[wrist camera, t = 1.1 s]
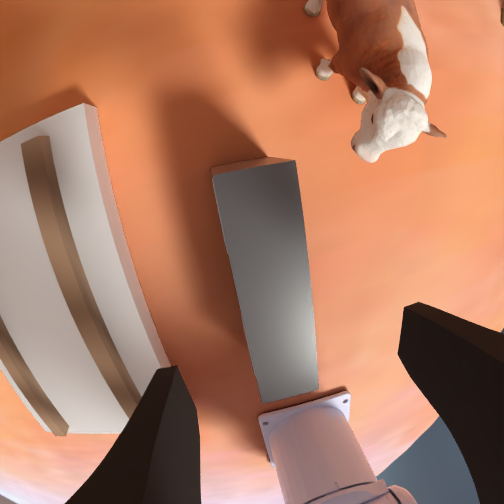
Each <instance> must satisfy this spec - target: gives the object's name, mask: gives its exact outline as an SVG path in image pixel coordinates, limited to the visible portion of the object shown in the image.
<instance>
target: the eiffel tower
mask: <svg viewBox="0 0 504 504" xmlns="http://www.w3.org/2000/svg"><path fill="white" fill-rule="evenodd" d="M501 24H502V25H503V26H504V8H502V21H501Z"/></svg>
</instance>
